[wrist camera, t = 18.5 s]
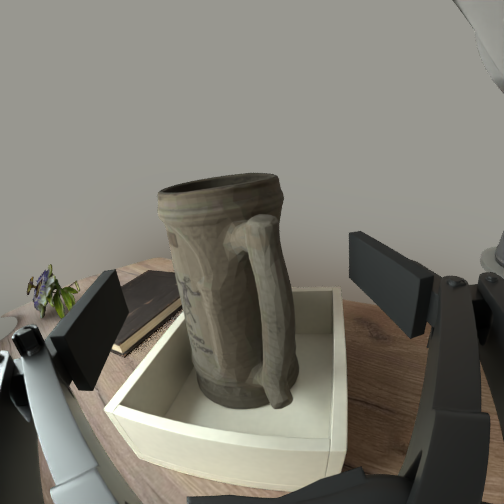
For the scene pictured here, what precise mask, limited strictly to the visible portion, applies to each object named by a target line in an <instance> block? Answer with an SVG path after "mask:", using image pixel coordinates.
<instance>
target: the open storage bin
mask: <svg viewBox="0 0 504 504" xmlns="http://www.w3.org/2000/svg"><path fill="white" fill-rule="evenodd" d="M292 294H293V301H294V310H295V326H296V328H295V341H296V356H297V359H298V364H299V374H298V377H297V380H296V383H295V384H294V385H293V386H292V388H291V389H290V391H291V394H292V396H293V402H292V403H291V404H290V405H288V406H286V407H284V408H282V409H274V408H273V407H272V406H271V404H270V403H269V404H266V405H263V406H260V407H257V408H250V409H232V408H226V407H224V406H221V405H219V404H216V403H214V402H213V401H211V400H209V399H208V398H207V397H206V396H205V395H204V394H203V392H202V391H201V390H200V387H199V385H198V382H197V375H196V372H197V371H196V369H195V367H194V364H193V362H192V348H191V343H190V339H189V335H188V331H187V326H186V322H185V317H184V313H183V312H182V313H181V314H180V315H179V316H178V318H177V319H176V320H175V321H174V323H173V324H172V325H171V326H170V327H169V329H168V330H167V331H166V332H165V334H164V335H163V336H162V337H161V338H160V340H159V341H158V342H157V343H156V345H155V346H154V347H153V348H152V349H151V351H150V352H149V353H148V354H147V356H146V357H145V358H144V359H143V361H142V362H141V363H140V364H139V366H138V367H137V368H136V369H135V371H134V372H133V373H132V374H131V376H130V377H129V378H128V379H127V381H126V382H125V383H124V384H123V386H122V387H121V388H120V389H119V391H118V392H117V393H116V394H115V396H114V397H113V398H112V399H111V401H110V402H109V403H108V404H107V406H106V407H105V408H104V411H105V412H106V414H107V415H108V417H109V418H110V420H111V421H112V423H113V424H114V426H115V427H116V428H117V430H118V431H119V433H120V434H121V435H122V437H123V438H124V439H125V441H126V442H127V443H128V445H129V446H130V447H131V449H132V450H133V451H134V452H135V454H136V455H137V456H138V457H139V459H141V460H144V461H147V462H150V463H153V464H155V465H158V466H162V467H165V468H168V469H171V470H174V471H178V472H181V473H185V474H188V475H192V476H196V477H200V478H204V479H209V480H213V481H218V482H223V483H228V484H233V485H239V486H245V487H252V488H259V489H267V490H277V491H289V492H294V491H296V490H298V489H301V488H303V487H305V486H307V485H309V484H311V483H313V482H315V481H317V480H319V479H322V478H326V477H329V476H333V475H336V474H339V473H341V471H342V467H343V464H344V460H345V457H346V453H347V437H348V391H347V361H346V343H345V328H344V315H343V304H342V294H341V287H300V288H299V287H297V288H292Z"/></svg>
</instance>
